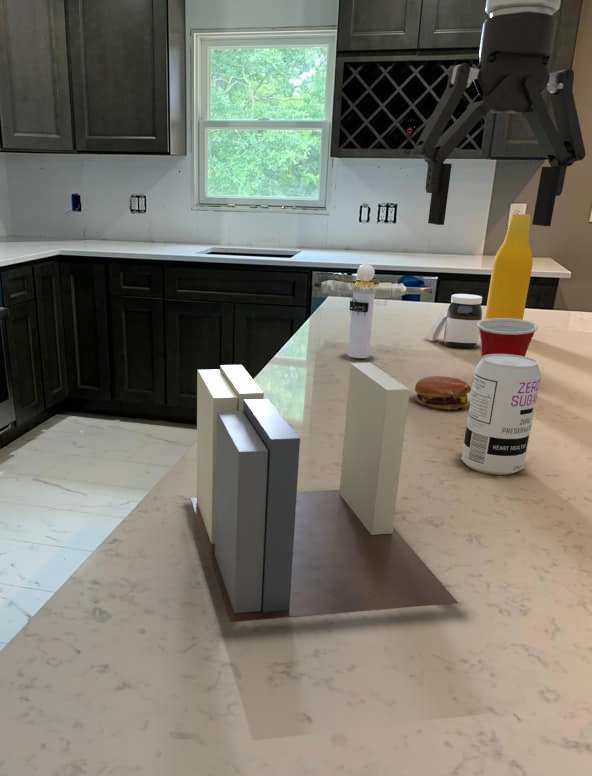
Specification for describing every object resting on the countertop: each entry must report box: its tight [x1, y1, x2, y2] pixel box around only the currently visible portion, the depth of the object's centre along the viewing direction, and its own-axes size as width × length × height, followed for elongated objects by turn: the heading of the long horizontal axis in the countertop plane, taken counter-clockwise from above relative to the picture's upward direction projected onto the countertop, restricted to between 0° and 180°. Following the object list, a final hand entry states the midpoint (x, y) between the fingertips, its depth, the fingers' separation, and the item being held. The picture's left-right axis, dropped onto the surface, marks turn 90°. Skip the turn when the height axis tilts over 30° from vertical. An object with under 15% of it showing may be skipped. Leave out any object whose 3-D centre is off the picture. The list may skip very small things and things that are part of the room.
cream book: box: [338, 362, 411, 535], centre depth 80 cm, size 2×11×16 cm, turn 11°
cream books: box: [196, 364, 265, 544], centre depth 77 cm, size 5×11×16 cm, turn 10°
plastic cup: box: [477, 318, 539, 361], centre depth 139 cm, size 11×11×12 cm
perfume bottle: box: [347, 263, 380, 359], centre depth 155 cm, size 6×6×20 cm
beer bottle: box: [483, 213, 534, 320], centre depth 181 cm, size 9×9×29 cm
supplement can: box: [461, 354, 542, 476], centre depth 98 cm, size 8×8×15 cm
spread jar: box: [427, 293, 483, 350], centre depth 172 cm, size 12×11×12 cm
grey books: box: [215, 398, 301, 613], centre depth 65 cm, size 5×11×16 cm, turn 10°
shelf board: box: [189, 489, 459, 623], centre depth 76 cm, size 21×26×2 cm
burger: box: [414, 375, 472, 411], centre depth 127 cm, size 10×9×5 cm
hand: (489, 225), depth 87 cm, fingers open, 13 cm apart
